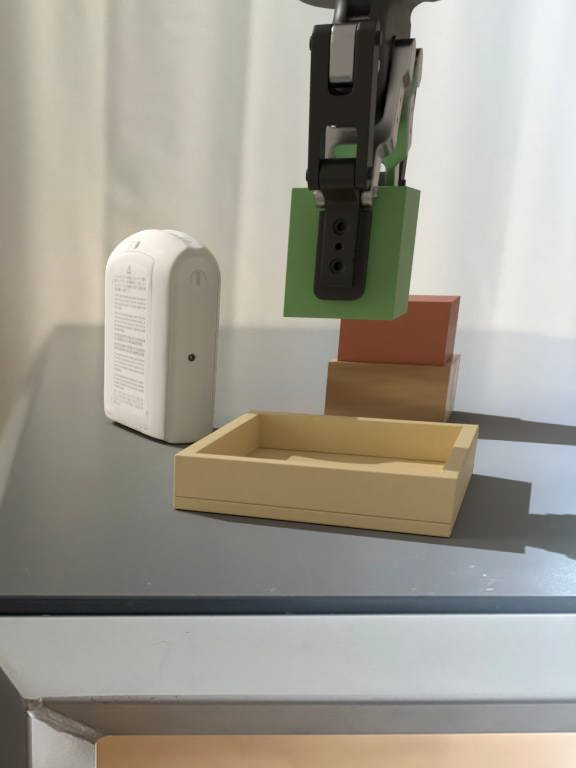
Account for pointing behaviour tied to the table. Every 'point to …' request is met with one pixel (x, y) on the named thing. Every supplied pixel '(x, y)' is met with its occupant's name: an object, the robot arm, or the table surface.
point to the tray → (331, 471)
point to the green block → (385, 258)
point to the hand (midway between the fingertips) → (349, 295)
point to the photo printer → (162, 335)
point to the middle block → (404, 334)
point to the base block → (392, 390)
